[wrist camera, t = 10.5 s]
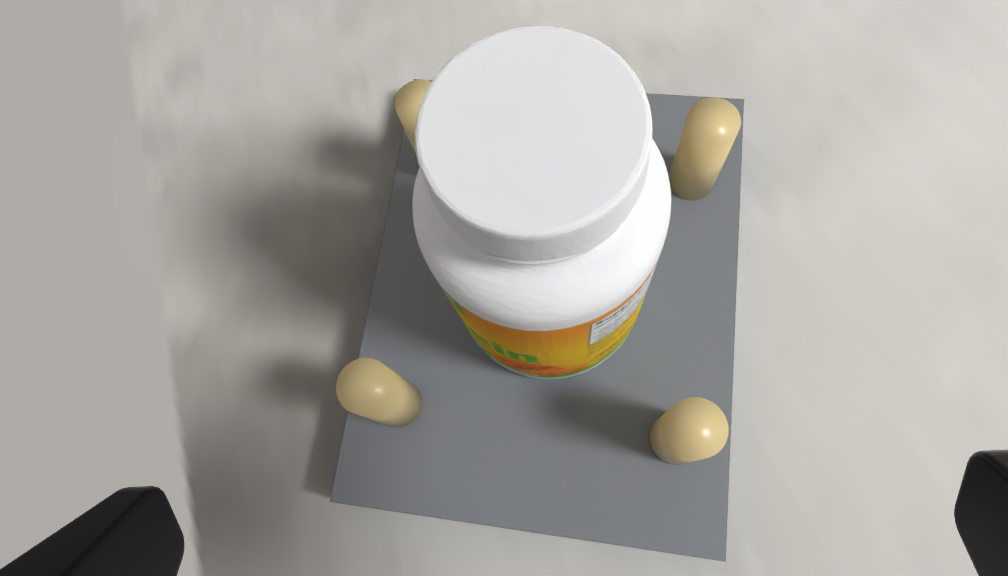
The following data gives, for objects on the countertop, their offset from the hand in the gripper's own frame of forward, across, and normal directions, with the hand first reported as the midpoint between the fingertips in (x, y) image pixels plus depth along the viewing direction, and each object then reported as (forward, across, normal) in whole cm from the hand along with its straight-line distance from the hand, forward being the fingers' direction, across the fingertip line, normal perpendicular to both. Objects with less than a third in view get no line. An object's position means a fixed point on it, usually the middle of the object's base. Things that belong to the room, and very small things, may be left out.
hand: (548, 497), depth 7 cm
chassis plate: (+13, 0, +5) cm, 14 cm away
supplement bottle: (+12, 0, +4) cm, 13 cm away
